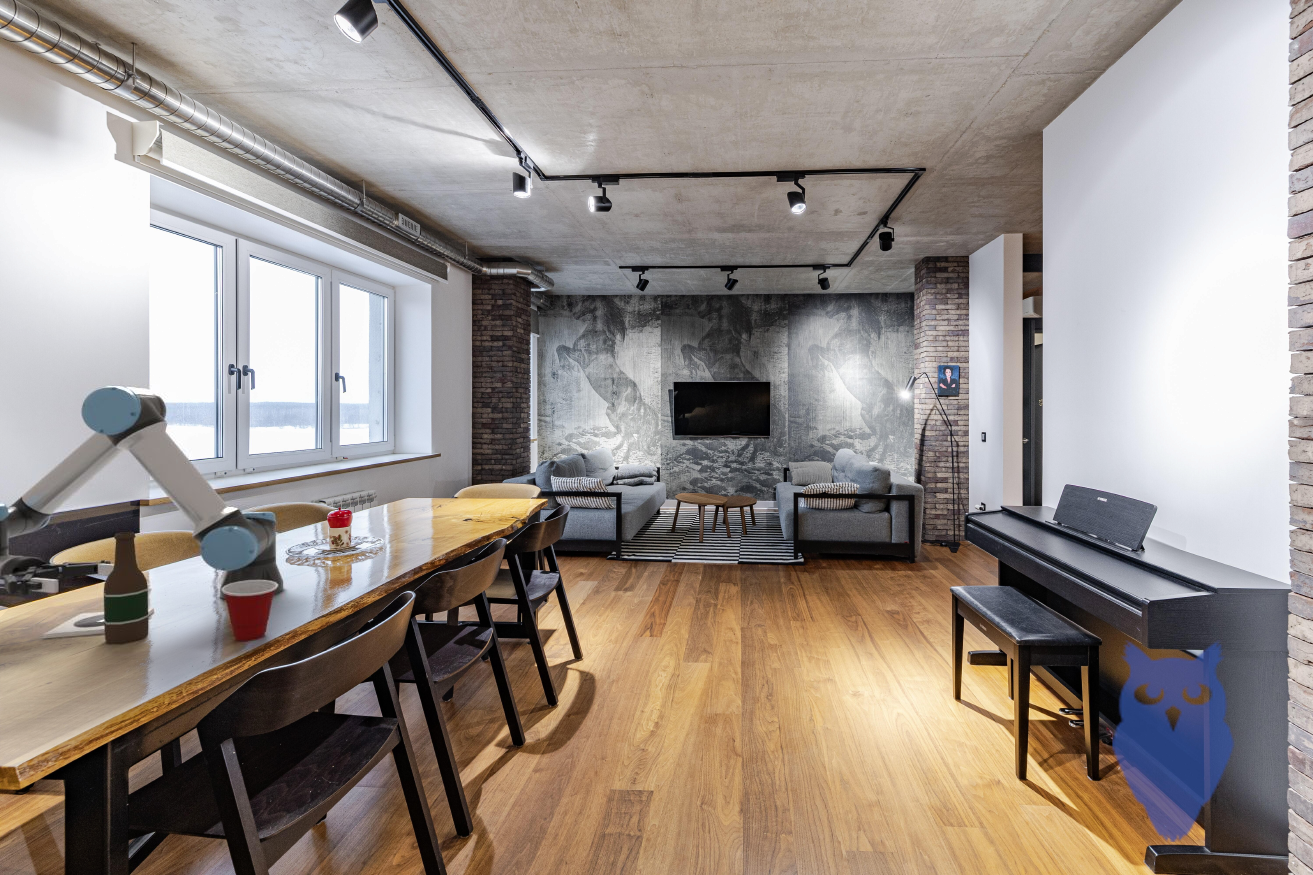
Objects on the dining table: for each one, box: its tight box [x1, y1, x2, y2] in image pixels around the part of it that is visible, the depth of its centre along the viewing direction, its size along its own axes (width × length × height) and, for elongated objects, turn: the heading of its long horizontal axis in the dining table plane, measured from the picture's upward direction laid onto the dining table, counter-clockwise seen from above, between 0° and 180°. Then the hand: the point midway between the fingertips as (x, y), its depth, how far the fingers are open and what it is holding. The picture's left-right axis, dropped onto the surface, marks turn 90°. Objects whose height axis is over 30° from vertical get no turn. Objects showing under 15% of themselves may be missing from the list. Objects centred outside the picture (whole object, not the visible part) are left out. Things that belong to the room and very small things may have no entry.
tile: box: [43, 607, 155, 639], centre depth 148 cm, size 15×15×1 cm
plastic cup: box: [222, 580, 278, 642], centre depth 141 cm, size 11×11×12 cm
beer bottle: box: [103, 531, 149, 645], centre depth 139 cm, size 8×8×24 cm
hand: (90, 578), depth 141 cm, fingers open, 13 cm apart
